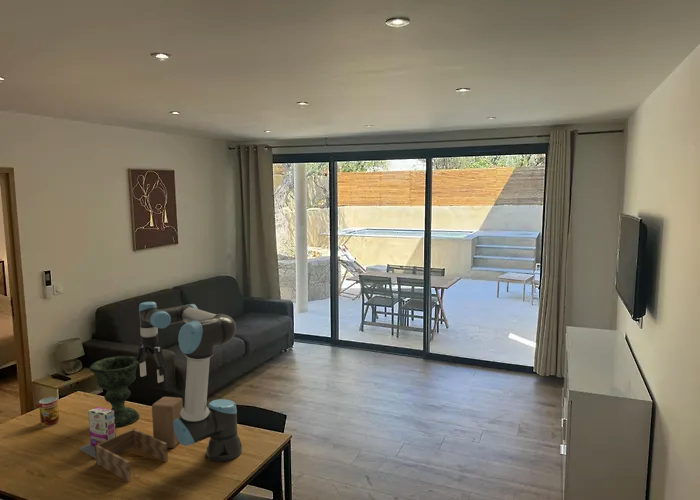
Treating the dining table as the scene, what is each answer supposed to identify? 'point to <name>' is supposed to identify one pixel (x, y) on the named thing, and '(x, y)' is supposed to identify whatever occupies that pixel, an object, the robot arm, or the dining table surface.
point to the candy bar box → (101, 425)
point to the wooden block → (166, 419)
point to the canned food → (49, 411)
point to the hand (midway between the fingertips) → (151, 378)
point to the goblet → (117, 385)
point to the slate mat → (89, 450)
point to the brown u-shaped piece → (124, 442)
